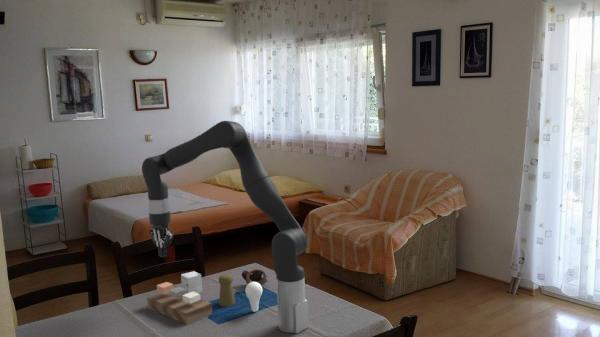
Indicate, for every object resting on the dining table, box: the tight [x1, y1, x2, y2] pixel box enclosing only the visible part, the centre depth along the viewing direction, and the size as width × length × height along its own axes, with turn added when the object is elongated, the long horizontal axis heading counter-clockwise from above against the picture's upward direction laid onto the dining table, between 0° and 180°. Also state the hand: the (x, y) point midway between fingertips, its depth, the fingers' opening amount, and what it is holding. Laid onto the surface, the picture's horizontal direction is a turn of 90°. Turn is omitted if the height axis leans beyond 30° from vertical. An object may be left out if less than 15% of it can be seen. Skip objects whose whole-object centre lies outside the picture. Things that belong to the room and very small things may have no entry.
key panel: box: [146, 291, 213, 325], centre depth 189 cm, size 24×11×4 cm, turn 49°
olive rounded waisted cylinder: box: [218, 273, 236, 307], centre depth 193 cm, size 6×6×11 cm
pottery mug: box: [241, 268, 268, 286], centre depth 209 cm, size 12×10×8 cm
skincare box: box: [180, 270, 203, 294], centre depth 206 cm, size 6×6×7 cm
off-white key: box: [183, 292, 202, 304], centre depth 183 cm, size 4×4×2 cm
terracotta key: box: [156, 281, 175, 293], centre depth 193 cm, size 4×4×2 cm
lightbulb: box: [244, 281, 263, 313], centre depth 185 cm, size 6×6×11 cm
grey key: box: [169, 286, 187, 298], centre depth 188 cm, size 4×4×2 cm
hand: (162, 256), depth 191 cm, fingers closed
